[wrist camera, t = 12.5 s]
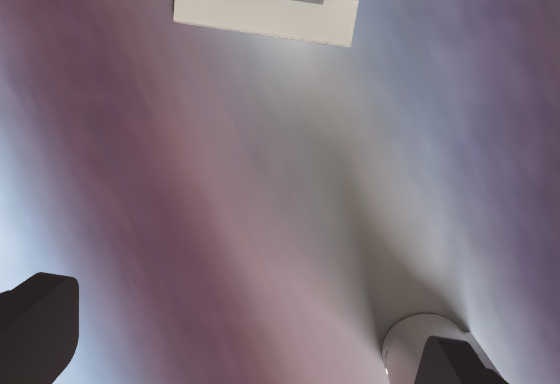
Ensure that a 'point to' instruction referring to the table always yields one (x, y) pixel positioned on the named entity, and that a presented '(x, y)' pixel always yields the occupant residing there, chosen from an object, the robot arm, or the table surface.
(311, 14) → the white peg stand
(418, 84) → the table surface
